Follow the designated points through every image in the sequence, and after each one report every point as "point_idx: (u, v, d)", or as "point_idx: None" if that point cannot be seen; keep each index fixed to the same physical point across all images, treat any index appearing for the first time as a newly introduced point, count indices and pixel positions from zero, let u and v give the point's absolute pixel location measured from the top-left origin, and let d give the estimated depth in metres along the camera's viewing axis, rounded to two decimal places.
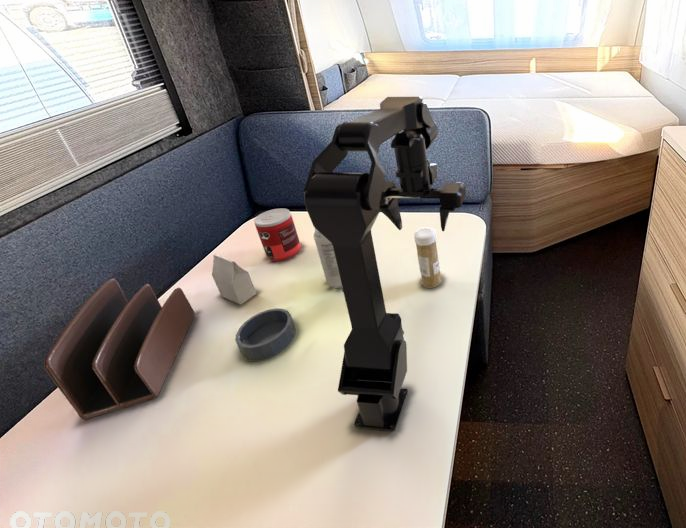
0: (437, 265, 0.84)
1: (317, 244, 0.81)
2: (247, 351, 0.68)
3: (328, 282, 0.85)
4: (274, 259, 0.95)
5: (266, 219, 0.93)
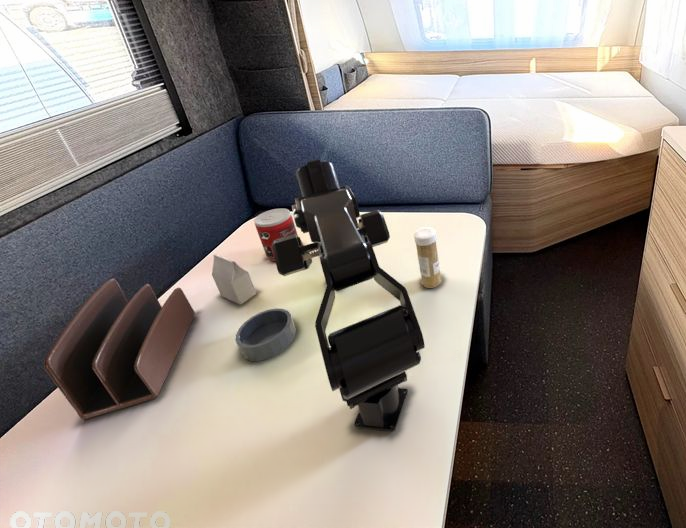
0: (437, 265, 0.84)
1: None
2: (247, 351, 0.68)
3: None
4: (274, 259, 0.95)
5: (266, 219, 0.93)
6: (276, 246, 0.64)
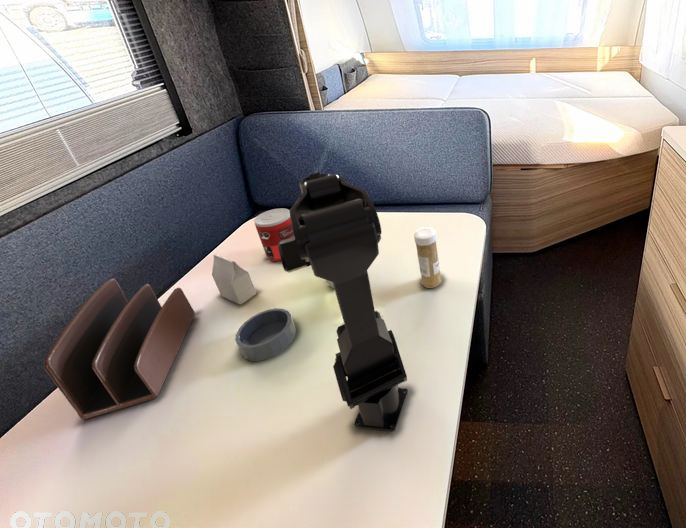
0: (437, 265, 0.84)
1: None
2: (247, 351, 0.68)
3: (328, 282, 0.85)
4: (274, 259, 0.95)
5: (266, 219, 0.93)
6: (282, 246, 0.74)
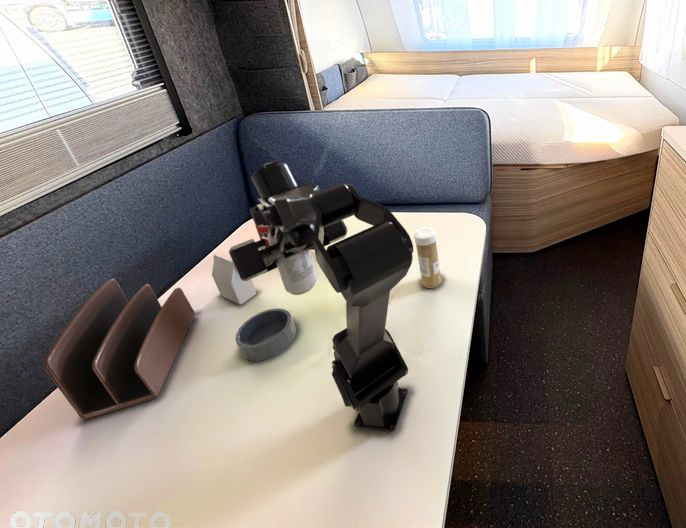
0: (437, 265, 0.84)
1: None
2: (247, 351, 0.68)
3: (288, 290, 0.77)
4: None
5: None
6: (235, 252, 0.65)
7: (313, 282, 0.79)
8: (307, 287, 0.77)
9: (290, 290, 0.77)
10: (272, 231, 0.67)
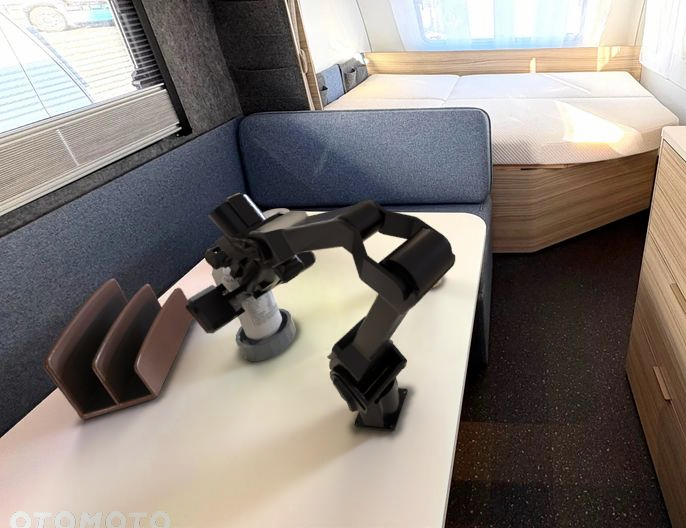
0: None
1: None
2: (247, 351, 0.68)
3: (252, 335, 0.69)
4: None
5: None
6: (196, 303, 0.57)
7: (279, 321, 0.72)
8: (274, 328, 0.70)
9: (255, 335, 0.69)
10: (237, 272, 0.60)
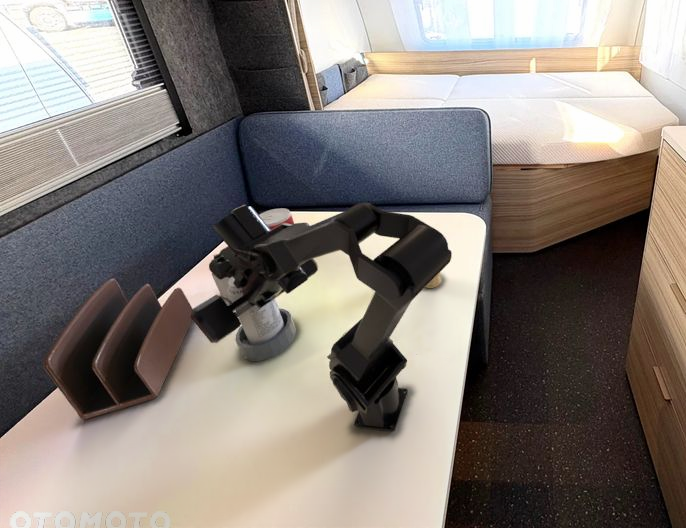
0: None
1: None
2: (247, 351, 0.68)
3: None
4: None
5: (266, 219, 0.93)
6: (200, 313, 0.58)
7: None
8: None
9: None
10: (241, 282, 0.61)
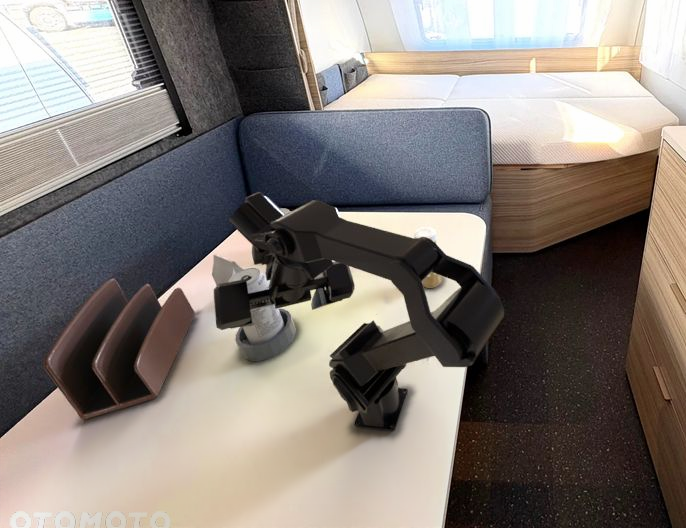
0: None
1: None
2: (247, 351, 0.68)
3: None
4: None
5: None
6: (220, 290, 0.54)
7: None
8: None
9: None
10: (269, 271, 0.57)
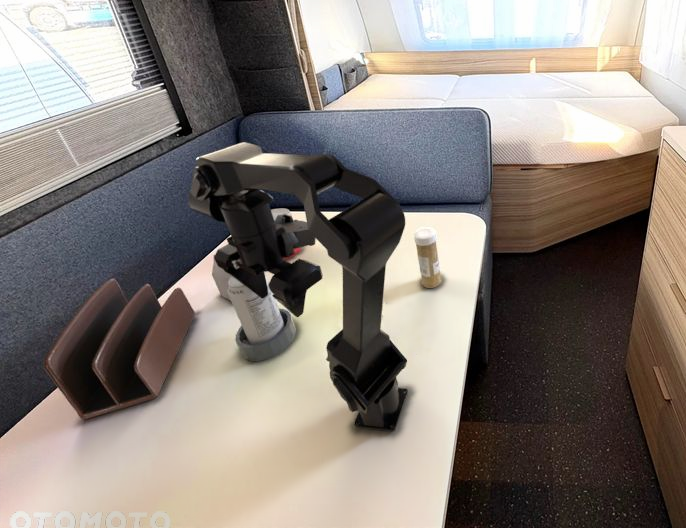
0: (437, 265, 0.84)
1: (238, 302, 0.66)
2: (247, 351, 0.68)
3: None
4: None
5: None
6: None
7: None
8: None
9: None
10: None
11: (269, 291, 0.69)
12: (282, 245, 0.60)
